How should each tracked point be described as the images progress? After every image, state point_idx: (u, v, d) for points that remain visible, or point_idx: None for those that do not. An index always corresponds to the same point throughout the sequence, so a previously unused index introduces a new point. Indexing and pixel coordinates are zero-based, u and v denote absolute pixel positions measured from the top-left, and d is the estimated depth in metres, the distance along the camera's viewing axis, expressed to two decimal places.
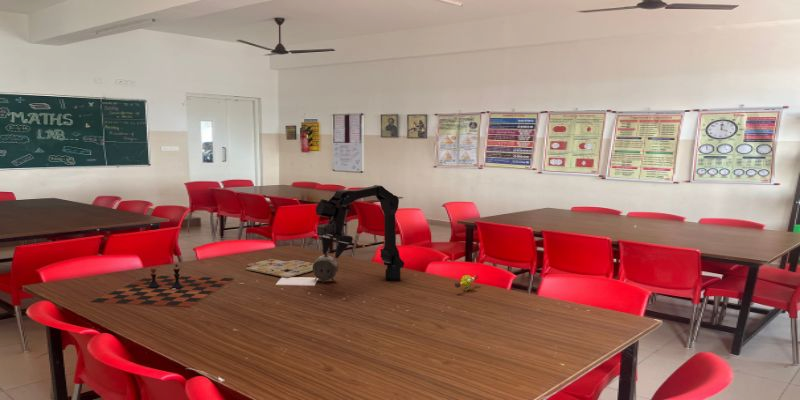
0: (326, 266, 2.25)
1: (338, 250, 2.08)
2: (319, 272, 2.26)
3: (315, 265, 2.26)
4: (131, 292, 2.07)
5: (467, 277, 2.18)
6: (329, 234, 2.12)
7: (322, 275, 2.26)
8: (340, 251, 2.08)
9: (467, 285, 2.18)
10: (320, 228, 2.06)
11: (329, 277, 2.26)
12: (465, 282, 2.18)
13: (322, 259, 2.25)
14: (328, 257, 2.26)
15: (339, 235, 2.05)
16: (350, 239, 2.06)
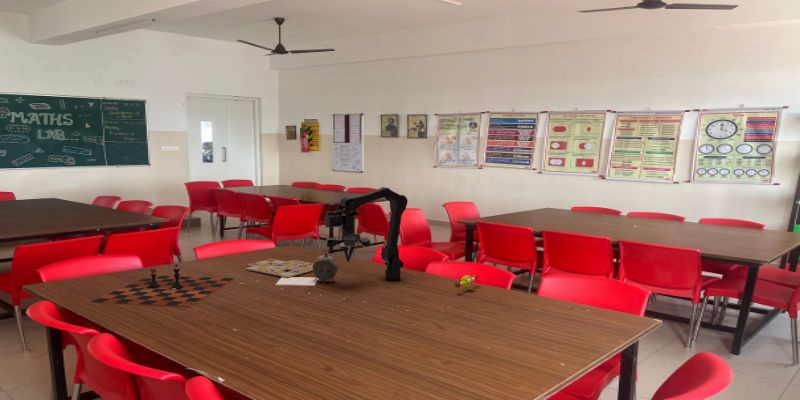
0: (326, 266, 2.25)
1: (351, 253, 2.22)
2: (319, 272, 2.26)
3: (315, 265, 2.26)
4: (131, 292, 2.07)
5: (467, 277, 2.18)
6: None
7: (322, 275, 2.26)
8: None
9: (467, 285, 2.18)
10: (352, 240, 2.14)
11: (329, 277, 2.26)
12: (465, 282, 2.18)
13: (322, 259, 2.25)
14: (328, 257, 2.26)
15: (365, 240, 2.21)
16: None
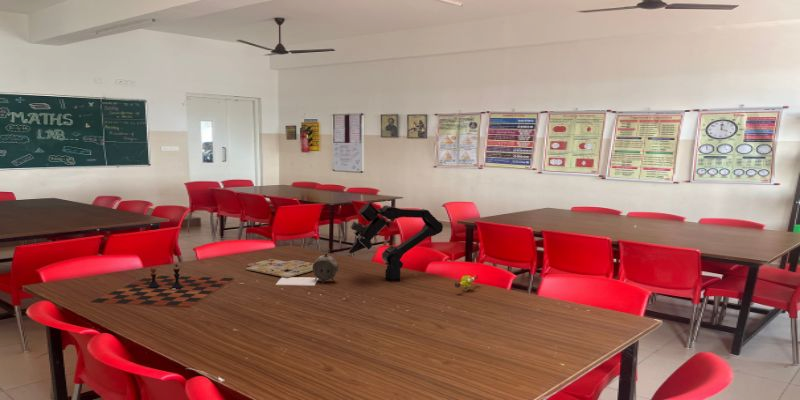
0: (326, 266, 2.25)
1: (354, 247, 2.27)
2: (319, 272, 2.26)
3: (315, 265, 2.26)
4: (131, 292, 2.07)
5: (467, 277, 2.18)
6: None
7: (322, 275, 2.26)
8: (355, 249, 2.28)
9: (467, 285, 2.18)
10: (353, 223, 2.26)
11: (329, 277, 2.26)
12: (465, 282, 2.18)
13: (322, 259, 2.25)
14: (328, 257, 2.26)
15: (362, 236, 2.22)
16: (368, 245, 2.21)
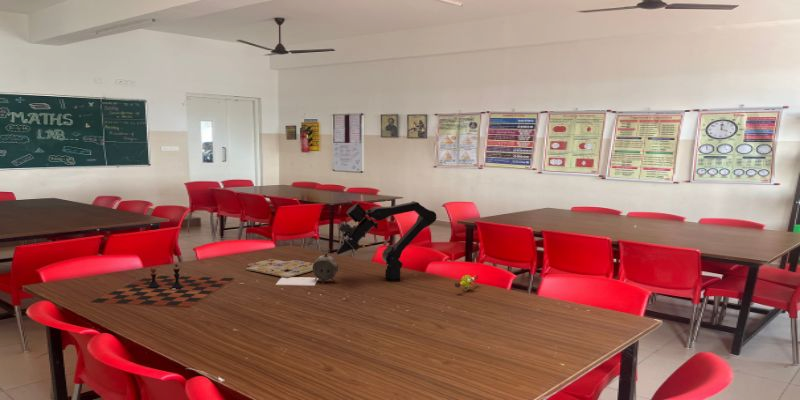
0: (326, 266, 2.25)
1: (341, 248, 2.26)
2: (319, 272, 2.26)
3: (315, 265, 2.26)
4: (131, 292, 2.07)
5: (467, 277, 2.18)
6: None
7: (322, 275, 2.26)
8: (343, 250, 2.27)
9: (467, 285, 2.18)
10: (341, 224, 2.25)
11: (329, 277, 2.26)
12: (465, 282, 2.18)
13: (322, 259, 2.25)
14: (328, 257, 2.26)
15: (350, 237, 2.21)
16: (356, 246, 2.19)
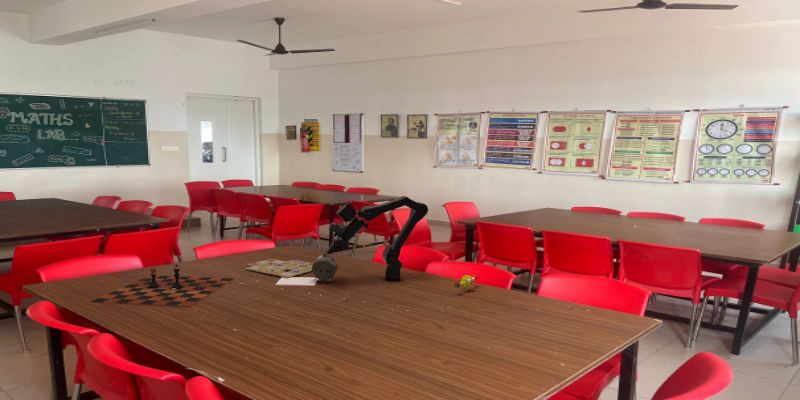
0: (325, 266, 2.25)
1: (331, 248, 2.25)
2: (318, 272, 2.26)
3: (314, 266, 2.25)
4: (131, 292, 2.07)
5: (467, 277, 2.18)
6: None
7: (321, 276, 2.26)
8: (333, 250, 2.26)
9: (467, 285, 2.18)
10: (331, 224, 2.24)
11: (329, 277, 2.26)
12: (465, 282, 2.18)
13: (321, 259, 2.24)
14: (327, 257, 2.25)
15: (339, 237, 2.20)
16: (345, 246, 2.18)
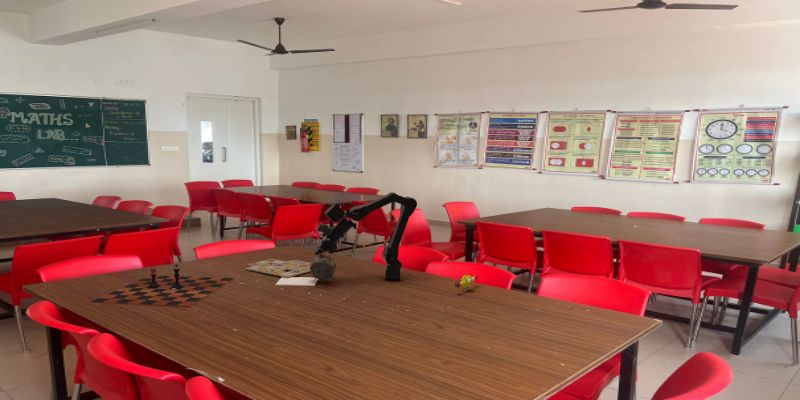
0: (323, 267, 2.24)
1: (320, 248, 2.24)
2: (317, 273, 2.25)
3: (312, 267, 2.24)
4: (131, 292, 2.07)
5: (467, 277, 2.18)
6: None
7: (320, 276, 2.26)
8: (321, 250, 2.25)
9: (467, 285, 2.18)
10: (319, 224, 2.23)
11: (328, 277, 2.26)
12: (465, 282, 2.18)
13: (318, 261, 2.23)
14: (324, 258, 2.24)
15: (327, 237, 2.19)
16: (333, 246, 2.17)
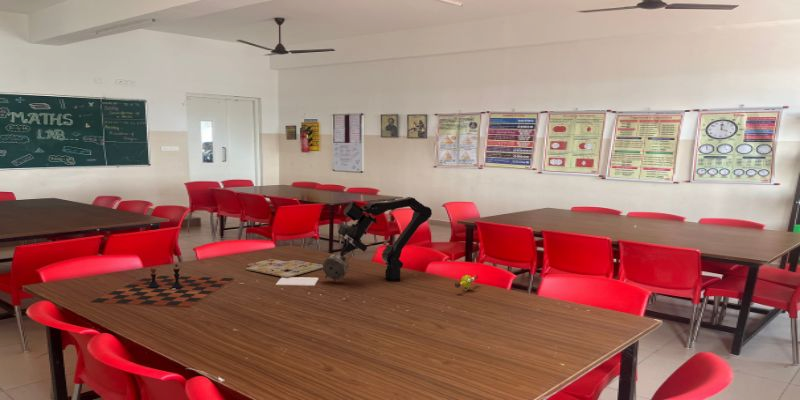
0: (337, 268, 2.24)
1: (346, 249, 2.25)
2: (328, 268, 2.25)
3: (329, 260, 2.23)
4: (131, 292, 2.07)
5: (467, 277, 2.18)
6: (352, 239, 2.23)
7: (328, 272, 2.25)
8: (347, 251, 2.25)
9: (467, 285, 2.18)
10: (342, 227, 2.21)
11: (333, 277, 2.26)
12: (465, 282, 2.18)
13: (338, 260, 2.23)
14: (344, 262, 2.24)
15: (356, 240, 2.19)
16: (364, 247, 2.20)
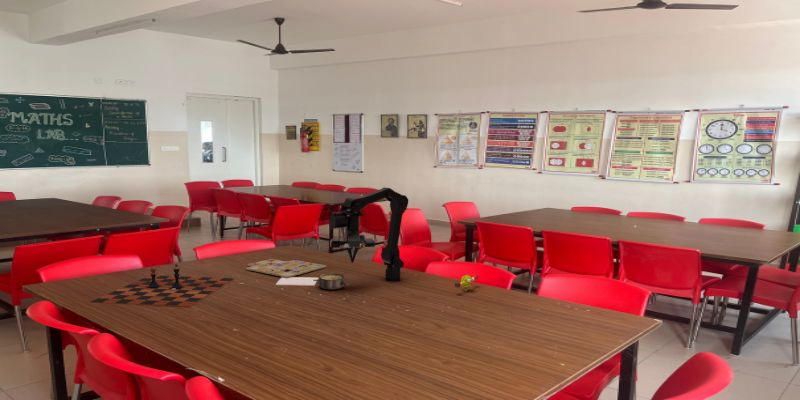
0: None
1: (355, 255, 2.20)
2: None
3: None
4: (131, 292, 2.07)
5: (467, 277, 2.18)
6: None
7: None
8: None
9: (467, 285, 2.18)
10: (357, 242, 2.12)
11: None
12: (465, 282, 2.18)
13: None
14: None
15: (369, 241, 2.19)
16: None
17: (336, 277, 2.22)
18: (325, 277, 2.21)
